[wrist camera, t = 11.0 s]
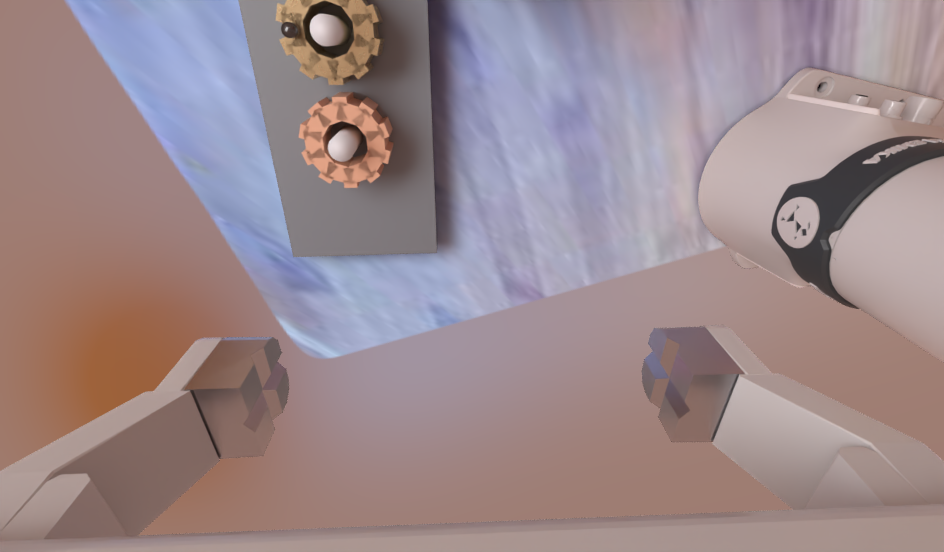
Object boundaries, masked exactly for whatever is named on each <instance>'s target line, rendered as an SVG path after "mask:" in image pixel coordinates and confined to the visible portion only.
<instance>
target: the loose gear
mask: <svg viewBox="0 0 944 552" xmlns="http://www.w3.org/2000/svg"><path fill="white" fill-rule="evenodd" d="M377 106H378V104H377V103H375V102H374V101H373V100H371V99H370V98H368V97H366V98H365V99H364V100H363V101H362V100H359V99H356V98H354V97H353V92H339V93H337V94H336V95H334V96H333V97H332V101H330V100H329V99H328V98H327V97H325V98H324V99H322V100H320V101H319V102H317V103H316V104H315V105H314V106H313V107H312V108H310V109H309V110H308V112H309V114H310V115H311V117H310V118H309V119H307V120H306V121H304V122H303V123H301V124H300V131H299V138H301V139H304V140H305V146H306V149H305V150H304V151H303V152H301V153H302V155H303V157H304V159H305V161H306V163H307V165H310V164H314V165H315V166H316V168H317V169H318V170H319V171H320V172H321V173H320V175H319V176H318V177H320V178H321V179H323V180H325V181H326V182H328V183H330V184H331V182H332V181H333V180H336V181H339V182H343V183H344V188H358V186H359V184H360V182H361V181H363V180H366V179H367V180H368V181H369V182H370V183H371V182H373V181H374V180H375V179H377V178H378V177H379V176H380V175H381V172H382V170H383V167H384V165H383V163H386V164H388V162H389V159H390V156H391V152H392V148H393V144H394V143H393V142H390V141H389V138H388V137H389V136H390V134H391V132H392V129H393V128H392V126H391V123H390V121H389V118H388V117H385V118H382V116H381V115H380V114H379V113H378V111H377V110H376V108H377ZM341 121H344V122H347V123H350V124H354V125H357V127H358V128H359V129H360V130H361V131H362V133H363V134H364V135H365V136H366V139H367V148H368V151H367V153H366V154H363V155H360V156H357V157H352V158H351V159H349V160H348V161H345V162H340V161H337V160H335V159H333V158H332V157H331V155H330V154H329V151H328V144H329V141H330V140H331V139H332V137H331V128H332V126H333V125H334V124H335V123H338V122H341Z"/></svg>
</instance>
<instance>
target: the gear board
mask: <svg viewBox="0 0 944 552" xmlns="http://www.w3.org/2000/svg"><path fill="white" fill-rule="evenodd" d="M286 1H287V0H239V5H240V10H241V14H242V19H243V24H244V28H245V33H246V38H247V42H248V47H249V52H250V56H251V61H252V66H253V70H254V75H255V80H256V84H257V89H258V94H259V98H260V103H261V108H262V112H263V117H264V122H265V126H266V131H267V136H268V140H269V145H270V150H271V154H272V159H273V164H274V168H275V173H276V178H277V182H278V187H279V192H280V196H281V201H282V206H283V210H284V215H285V220H286V224H287V229H288V234H289V238H290V243H291V248H292V252H293V257H311V256H345V255H378V254H412V253H437V236H436V210H435V183H434V157H433V130H432V104H431V78H430V51H429V25H428V0H366V1H367V2H368V4H369V5H371V4H373V5H375V6H377V7H378V9H379V12H380V15H381V17H382V20H383V22H382V23H380V24H378V32H379V38H382V39H385V40H384V45H383V49H382V54H380V55H378V56H376V55H374V56H373V58H372V60H371V62H370V63H371V64H372V65H373V67H374V68H372V69H371V70H370V71H369V72H368V73H367V74H365V75H364V76H363V77H361V78H360V79H357V78H356V76H355V75H354V74H353V75H350V81H349V82H347V83H346V84H344V85H329V83H328V78H325V77H322V76H321V77H318V78H316V79H313V80H312V79H311V78H310V77H308V76H307V75H305V74H304V73H302V72H301V71H299V69H300V67H301V65H302V64H301V63H300V62H299V61H298V60H297V58H296V57H295V56H294V55H288V56H287V55H286V53H285V51H284V49H283V47H282V45H281V43H280V40H279V39H282V38H285V36H284V35H283V34H282V32H281V26H282V23H281V22H278V21H276V12H277V3H279V4H284V5H285V3H286ZM310 33H311V35H312V37H313V39H314V40H315V41H316V42H317V43H318V44H320V45H321V46H322V47H323V48H324V50H325V51H326V52H328V53H331V54H334V55H337V56H342V55H344V54H347V52H348V51H349V49H350V47H351V45H352V43H353V41H354V30H353V21H352V20H351V19H350V17H349V16H348V15H347V13H346V12H345V11H344V9H343V8H342V7H341V6H339V5H336V4H334V3H333V4H330V5H328V6H325V7H322V8H320V10H319V12H318V14H317V15H316V16H314V17H313V19H312V20H311V23H310ZM339 92H353V97H354V98H356V99H359V100H362V101H363V100H364V99H365V98H366V97H368V98H370V99H371V100H373V101H374V102H375V103H377V104H378V106H377V108H376V110H377V111H378V113H379V114H380V115H381V116H382V118H385V117H388V118H389V121H390V123H391V126H392V128H393V129H392V132H391V134H390V136H389V137H388V138H389V141H390V142H393V143H394V144H393V148H392V152H391V156H390V159H389V162H388V164H386V163H383V165H384V167H383V170H382V172H381V175H380V176H379V177H378V178H377V179H375V180H374V181H373V182H371V183H370V182H369V181H368V180H367V179H366V180H363V181H361V182H360V184H359V186H358V188H344V183H343V182H339V181H336V180H333V181H332V182H331V184H330V183H328V182H326V181H325V180H323V179H321V178H320V177H318V176H319V175H320V173H321V172H320V171H319V170H318V169H317V168H316V166H315V165H314V164H310V165H307V163H306V161H305V159H304V157H303V155H302V153H301V152H303V151H304V150H305V149H306V146H305V140H304V139H301V138H299V131H300V124H301V123H303V122H304V121H306V120H307V119H309V118H310V117H311V115H310V114H309V112H308V110H309V109H310V108H312V107H313V106H314V105H315V104H316V103H317V102H319V101H320V100H322V99H324V98H325V97H327V98H328V99H329V100H330V101H332V97H333V96H334V95H336V94H337V93H339ZM331 137H332V139H331V140H330V141H329V144H328V151H329V154H330V155H331V157H332V158H333V159H335V160H337V161H340V162H345V161H348V160H349V159H351V158H352V157H357V156H360V155H363V154H366V153H367V151H368V148H367V139H366V136H365V135H364V134H363V133H362V131H361V130H360V129H359V128H358V127H357V125H354V124H350V123H347V122H344V121H341V122H338V123H335V124H334V125H333V126H332V128H331Z"/></svg>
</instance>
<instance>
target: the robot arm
mask: <svg viewBox="0 0 944 552" xmlns="http://www.w3.org/2000/svg"><path fill="white" fill-rule="evenodd" d="M820 83H821V86H820V88H819V89H818V90H817V87H818V85H819V84H820ZM698 203H699V210H700V214H701V217H702V220H703V222H704V224H705V226H706V227H707V228H708V230H709V231H710V232H711V233H712V234H713V235H714V236H715V237H717V238H718V239H719V240H721V241H722V242H723V243H724V244H726V246H727V247H728V249H729V252H730V254H731V257H732V259H733V261H734V262H735V263H736V264H737V265H739V266H740V267H742V268H744V269H751V268H756V267H761V268H762V269H764V270H766V271H768V272H769V273H771V274H773V275H775V276H776V277H778V278H780V279H782V280H784V281H785V282H787V283H789V284H791V285H793V286H795V287H798V288H804V287H805V286H813V287H814V289H815V290H817V291H818V292H820V293H821V294H823V295H825V296H827V297H828V298H832V299H833V300H836V301H838V302H839V303H841V304H843V305H845V306H848V307H852V308H856V309H861V310H862V311H864V312H866V313H867V314H869V315H870V316H872V317H873V318H875V319H876V320H878V321H879V322H881V323H883V324H884V325H886V326H887V327H889V328H890V329H892V330H893V331H895V332H897V333H898V334H900V335H901V336H903V337H904V338H906V339H908V340H909V341H911V342H912V343H914V344H915V345H917V346H918V347H920V348H921V349H923V350H924V351H926V352H928V353H929V354H930V355H932V356H934V357H935V358H937V359H938V360H940V361H941V362H943V363H944V101H943V100H940V99H936V98H932V97H928V96H925V95H921V94H917V93H913V92H909V91H905V90H900V89H896V88H892V87H888V86H884V85H880V84H876V83H872V82H868V81H864V80H860V79H856V78H852V77H848V76H844V75H840V74H836V73H832V72H828V71H824V70H820V69H816V68H805V69H803V70H801V71H799V72H798V73H797V74H796V75H794V76H793V77H792V78H791V79H790V80H789V81H788V83H787V84H786V85H785V86H784V87H783V88H782V89H781V90H780V92H779V93H778V94H777V95H776V96H775V97H774V98H773V99H771V100H770V101H769V102H767V103H766V104H764V105H763V106H761V107H759V108H758V109H756V110H754V111H753V112H751V113H750V114H748V115H747V116H745V117H744V118H743V119H742V120H740V121H739V122H738V123H737V124H736V125H735V126H734V127H732V128H731V129H730V130H729V131H728V133H727V134H726V135H725V136H724V137H723V138H722V139H721V141H720V142H719V143H718V145H717V146H716V148H715V149H714V151H713V152H712V154H711V156H710V158H709V159H708V161H707V164H706V166H705V168H704V171H703V174H702V177H701V181H700V185H699V193H698ZM648 344H649V345H650V347H651V349H652V350H653V352H651V353H650V354H649V355H648V356H647V357H646V358H645V359H644V363H643V368H642V382H643V386H644V390H645V393H646V395H647V397H648V399H649V401H650V402H651V403H653V404H655V405H656V406H658V407H659V408H660V413H659V416H658V418H659V420H660V421H661V423H662V425H663V427H664V429H665V431H666V433H667V434H668V436H669V438H670V440H671V442H713V443H712V444H713V445H714V446H716V447H717V448H718V449H719V450H721V451H722V452H723V453H724V454H726V455H727V456H728V457H729V458H730V459H732V460H733V461H734V462H735V463H737V464H738V465H739V466H740V467H742V468H743V469H744V470H745V471H747V472H748V473H749V474H750V475H751V476H753V477H754V478H755V479H756V480H758V481H759V482H760V483H761V484H763V485H764V486H765V487H766V488H767V489H769V490H770V491H771V492H772V493H774V494H775V495H776V496H777V497H778V498H780V499H781V500H782V501H783V502H785V503H786V504H787V505H788V506H790V507H791V508H792V509H793V510H775V511H748V512H724V513H723V512H722V513H696V514H671V515H649V516H648V515H647V516H622V517H597V518H572V519H545V520H520V521H498V522H497V521H495V522H471V523H445V524H418V525H395V526H394V525H393V526H367V527H342V528H317V529H293V530H267V531H243V532H217V533H191V534H166V535H141V536H137V535H138V534H140V533H141V532H142V531H143V530H144V529H145V528H146V527H147V526H148V525H150V524H151V523H152V522H153V521H154V520H155V519H156V518H157V517H158V516H159V515H160V514H162V513H163V512H164V511H165V510H166V509H167V508H168V507H169V506H171V505H172V504H173V503H174V502H175V501H176V500H177V499H178V498H179V497H181V495H182V494H184V493H185V492H186V491H187V490H188V489H189V488H190V487H192V486H193V485H194V484H195V483H196V482H197V481H198V480H199V479H200V478H202V477H203V476H204V475H205V474H206V473H207V472H208V471H209V470H210V469H211V468H213V467H214V466H215V465H216V464H217V463H218V462H219V461H220V460H219V459H223V458H239V457H255V456H263V455H264V453H265V451H266V449H267V446H268V444H269V442H270V440H271V437H272V435H273V433H274V430H275V427H274V424H273V421H272V420H273V419H275V418H276V417H277V416H279V415H280V414H281V413H283V410H284V408H285V405H286V403H287V398H288V392H289V379H288V374H287V371H286V369H285V368H284V367H283V366H282V365H281V364H279V363H278V362H277V361H278V359H279V357H280V355H281V353H282V352H281V349H280V346H279V343H278V340H276V339H275V338H273V337H238V338H237V337H227V338H202V339H199V340H196V341H195V342H194V344H193V345H192V346H191V347H190V349H189V350H188V351H187V352H186V353H185V354H184V356H183V357H182V358H181V359H180V360H179V362H178V363H177V364H176V365H175V366H174V368H173V369H172V370H171V371H170V373H169V374H168V375H167V376H166V377H165V379H164V380H163V381H162V382H161V383H160V384H159V386H158V387H157V388H156V390H155V391H154V392H144V393H143V394H141V395H139V396H137V397H135V398H133V399H132V400H130V401H128V402H126V403H124V404H122V405H120V406H119V407H117V408H115V409H113V410H111V411H110V412H108V413H106V414H104V415H102V416H100V417H98V418H97V419H95V420H93V421H91V422H89V423H88V424H86V425H84V426H82V427H80V428H78V429H76V430H75V431H73V432H71V433H69V434H68V435H66V436H64V437H62V438H60V439H58V440H56V441H55V442H53V443H51V444H49V445H47V446H45V447H44V448H42V449H40V450H38V451H36V452H34V453H33V454H31V455H29V456H27V457H25V458H23V459H22V460H20V461H18V462H16V463H14V464H12V465H11V466H9V467H7V468H5V469H3V470H1V471H0V552H944V461H943V460H942V459H941V458H940V457H938V456H937V455H936V454H935V453H934V452H933V451H932V450H930V449H929V448H928V447H927V446H926V445H925V444H924V443H922V442H920V441H918V440H916V439H914V438H912V437H909V436H908V435H905V434H903V433H901V432H899V431H897V430H895V429H893V428H891V427H889V426H887V425H885V424H883V423H880V422H878V421H877V420H875V419H872V418H870V417H868V416H866V415H864V414H862V413H860V412H858V411H856V410H853V409H852V408H849V407H847V406H845V405H844V404H841V403H839V402H837V401H835V400H833V399H831V398H829V397H827V396H825V395H823V394H821V393H819V392H817V391H815V390H813V389H811V388H808V387H806V386H804V385H802V384H800V383H798V382H796V381H794V380H792V379H790V378H788V377H786V376H784V375H782V374H772V373H771V372H770V371H769V370H768V369H767V367H766V366H765V365H764V364H763V363H762V362H761V361H760V360H759V359H758V358H757V357H756V356H755V355H754V354H753V353H752V352H751V350H750V349H749V348H748V347H747V346H746V345H745V344H744V343H743V342H742V341H741V340H740V339H739V338H738V336H736V335H735V333H734V332H733V331H732V330H731V329H730V328H728V327H726V326H724V325H711V326H700V327H681V328H654V330H653V331H652V333H651V335H650V338H649V342H648Z"/></svg>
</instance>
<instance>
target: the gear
mask: <svg viewBox="0 0 944 552" xmlns="http://www.w3.org/2000/svg"><path fill="white" fill-rule="evenodd" d="M333 3H334V4H336V5H339V6H341V7H342V8H343V9H344V11H345V12H346V13H347V15H348V16H349V17H350V19H351V20H352V21H353V30H354V41H353V43H352V45H351V47H350V49H349V51H348V52H347V54H344V55H342V56H337V55H334V54H331V53H328V52H326V51H325V50H324V48H323V47H322V46H321V45H320V44H318V43H317V42H316V41H315V40H314V39H313V37H312V35H311V33H310V23H311V20H312V19H313V17H314V16H316V15H317V14H318V12H319V10H320V8H322V7H325V6H328V5H330V4H333ZM276 21H278V22H281V23H282V26H281V32H282V34H283V35H284V36H285V38H282V39H279V40H280V43H281V45H282V47H283V49H284V51H285V53H286V55H287V56H288V55H294V56H295V57H296V58H297V60H298V61H299V62H300V63H301V64H302V65H301V67H300V69H299V71H301V72H302V73H304V74H305V75H307V76H308V77H310V78H311V79H312V80H313V79H316V78H318V77H321V76H322V77H325V78H328V83H329V85H344V84H346V83H347V82H349V81H350V75H353V74H354V75H355V76H356V78H357V79H360V78H361V77H363V76H364V75H365V74H367V73H368V72H369V71H370V70H371V69H372V68H374V67H373V65H372V64H371V63H370V62H371V60H372V58H373V56H374V55H376V56H378V55H380V54H382V49H383V45H384V40H385V39H382V38H379V32H378V24H380V23H382V22H383V20H382V17H381V15H380V12H379V9H378V7H377V6H375V5H373V4H371V5H369V4H368V2H367V1H366V0H287V1H286V3H285V5H284V4H279V3H277V12H276Z"/></svg>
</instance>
